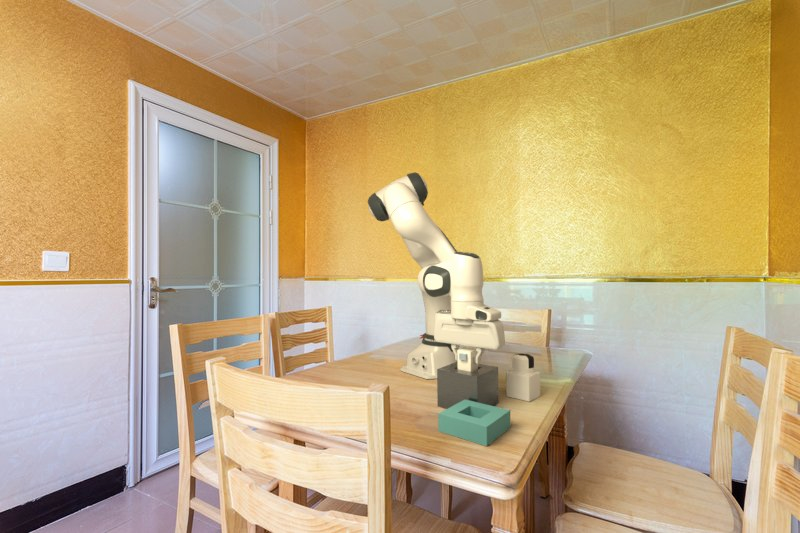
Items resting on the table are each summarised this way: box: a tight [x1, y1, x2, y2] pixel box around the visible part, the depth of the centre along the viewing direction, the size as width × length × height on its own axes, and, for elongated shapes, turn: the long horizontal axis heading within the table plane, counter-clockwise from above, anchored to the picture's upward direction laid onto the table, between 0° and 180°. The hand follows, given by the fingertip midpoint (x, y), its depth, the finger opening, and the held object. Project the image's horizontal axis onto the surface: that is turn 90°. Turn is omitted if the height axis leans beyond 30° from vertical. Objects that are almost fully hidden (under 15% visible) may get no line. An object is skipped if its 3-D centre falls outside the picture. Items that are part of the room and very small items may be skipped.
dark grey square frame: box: [436, 362, 500, 410], centre depth 103 cm, size 12×12×10 cm
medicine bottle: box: [505, 353, 541, 402], centre depth 109 cm, size 7×7×12 cm
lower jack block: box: [437, 400, 511, 447], centre depth 87 cm, size 12×12×4 cm
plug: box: [457, 347, 478, 372], centre depth 102 cm, size 4×5×9 cm
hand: (467, 362), depth 103 cm, fingers closed on plug, 4 cm apart
